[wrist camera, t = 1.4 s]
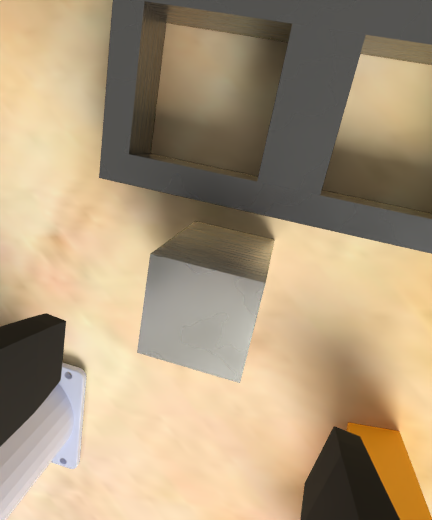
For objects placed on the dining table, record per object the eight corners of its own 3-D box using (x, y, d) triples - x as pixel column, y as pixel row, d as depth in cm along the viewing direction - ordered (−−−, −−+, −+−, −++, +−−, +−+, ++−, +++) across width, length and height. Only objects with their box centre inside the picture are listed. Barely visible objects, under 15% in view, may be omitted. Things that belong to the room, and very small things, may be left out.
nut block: (183, 292, 19) (137, 352, 13) (195, 220, 18) (150, 253, 12) (256, 312, 19) (240, 383, 13) (274, 239, 17) (265, 283, 12)
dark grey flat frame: (123, 174, 18) (99, 177, 15) (142, -16, 15) (116, -45, 13) (462, 249, 16) (490, 266, 13) (553, 44, 13) (607, 22, 11)
